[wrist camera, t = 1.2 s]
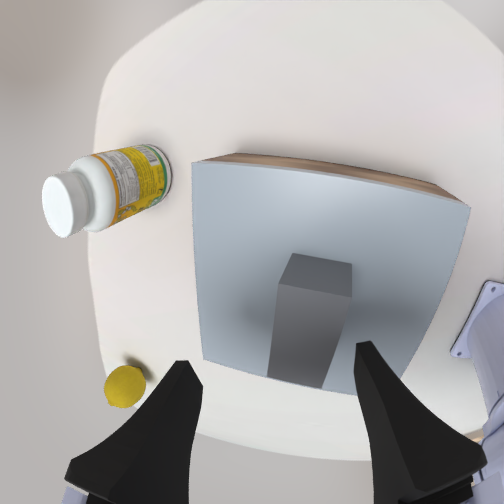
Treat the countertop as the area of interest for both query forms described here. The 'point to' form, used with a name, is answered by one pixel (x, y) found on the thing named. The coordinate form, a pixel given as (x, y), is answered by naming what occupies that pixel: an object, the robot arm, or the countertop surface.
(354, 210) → the lid
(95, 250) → the countertop surface
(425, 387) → the countertop surface
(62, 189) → the supplement bottle
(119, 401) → the lemon
